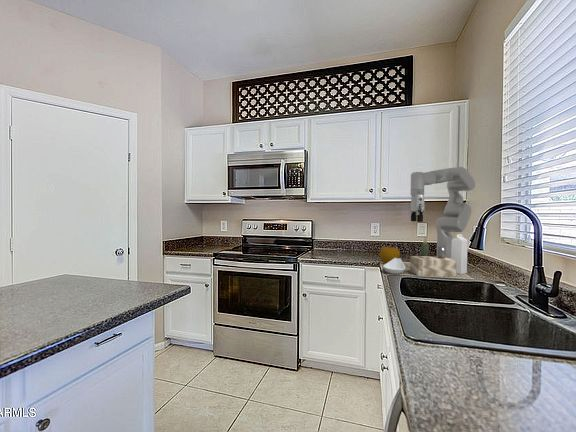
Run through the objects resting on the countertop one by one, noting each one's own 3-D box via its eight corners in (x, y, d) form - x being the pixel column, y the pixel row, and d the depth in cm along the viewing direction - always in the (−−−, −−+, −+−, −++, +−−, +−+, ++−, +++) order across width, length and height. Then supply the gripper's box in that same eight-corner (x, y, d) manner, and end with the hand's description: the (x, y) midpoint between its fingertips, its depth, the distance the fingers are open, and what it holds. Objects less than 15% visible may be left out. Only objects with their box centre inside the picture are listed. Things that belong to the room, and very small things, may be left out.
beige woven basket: (445, 272, 171) (445, 246, 171) (456, 276, 160) (456, 248, 160) (410, 271, 171) (410, 245, 171) (418, 275, 160) (419, 247, 160)
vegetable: (425, 271, 175) (426, 236, 175) (418, 269, 178) (419, 236, 178) (429, 270, 177) (430, 236, 177) (422, 269, 181) (423, 235, 181)
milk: (450, 272, 173) (451, 233, 173) (456, 271, 176) (457, 233, 176) (461, 274, 168) (462, 234, 168) (467, 273, 171) (467, 234, 171)
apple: (379, 261, 205) (379, 245, 205) (399, 263, 201) (400, 246, 201) (378, 264, 193) (379, 247, 193) (400, 266, 189) (400, 248, 189)
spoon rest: (403, 276, 160) (404, 263, 159) (380, 274, 165) (381, 260, 165) (408, 269, 180) (409, 257, 180) (388, 267, 186) (388, 255, 186)
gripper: (429, 192, 172) (429, 222, 172) (417, 193, 189) (417, 221, 189) (416, 192, 172) (415, 222, 172) (405, 193, 189) (405, 221, 189)
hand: (416, 221), depth 181 cm, fingers open, 9 cm apart
